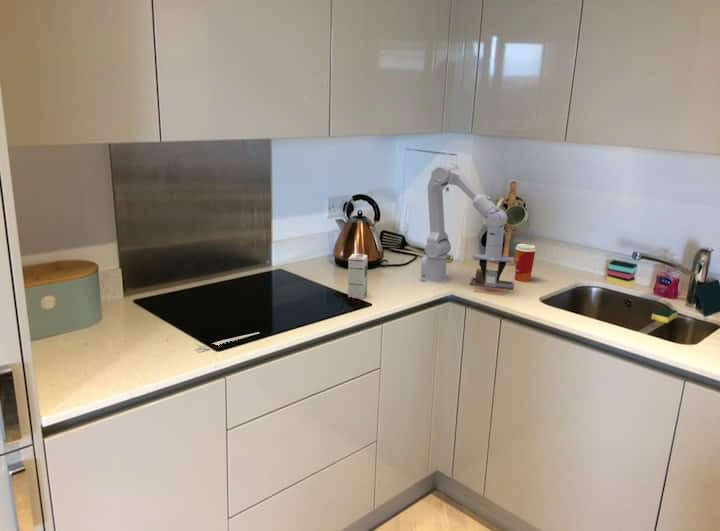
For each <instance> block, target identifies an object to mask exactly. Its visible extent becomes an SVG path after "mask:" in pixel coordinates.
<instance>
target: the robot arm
mask: <svg viewBox="0 0 720 531" xmlns="http://www.w3.org/2000/svg"><path fill="white" fill-rule="evenodd" d="M430 173H431V176H430V179H429V181H428V184H427V200H428V215H429V218H428V219H429V220H428V221H429V235H428V236H427V238H426V245H425V248H424V251H425V254H426V255H423V256H422V258H421V265H420V267H421V268H420V279H419V280H420V281H421V282H434V283H441V284H444V283H446V281H447V279H448V276H447V264H448V263H447V262H448V254H449V252H450V251H451V249H452V245H451V242H450V240H449V235H448V234H447V233H446V231H445V229H446V228H445V212H444V197H443V196H444V195H443V190H444V189H446V187H447V186H449V185H452V186H457V187H458V188H459V189H460V190H462V192H463V193H464V194H465V195H466V196H467V197H468V198H470V199H471V200H472V206H473V207H474V208H475V209H476V211H477V212H478V213H479V214H480V215H481V217H483V218H484V220H485V221H484V222H485V224H486V226H487V232H486V243H485V252H484V253H473V254H472V258H471V260H472V261H479V263H478V264H479V267H480V269H481V270H482V273H483V281H485V276H486V270H487V266H488V262H494V263H498V264H497V271H498V275H497V282H499V280H500V278H501V274H502V273H503V270H504V269H505V268H506V265H507V264H511V265H514V262H515V257H510V256H505V255H502V254H503V253H502V252H503V244H504V233H505V224H507V222H508V215H507V213H506V211H505V210H503V209H500V207H499V206H496V205H495V203H493V201H492V200H491V197H490V195H487V194H482V193H480V192H479V191H478V190H477V189H476V187H475V186H474V184H472V182H471V181H470V180H469V179H468V178H467V176H466V175H465V173H464V171H463V169H461V168H459V166H458V165H457V164H454V163H450V164H443V165H438V166H436V167H434V169H433V170H432V171H431V172H430Z"/></svg>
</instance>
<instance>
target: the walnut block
mask: <svg viewBox="0 0 720 531" xmlns="http://www.w3.org/2000/svg"><path fill="white" fill-rule="evenodd" d="M474 278H475V283H479V284H485V281H483V273H482V270H481V268H476V270H475V277H474Z"/></svg>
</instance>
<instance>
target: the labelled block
mask: <svg viewBox="0 0 720 531" xmlns="http://www.w3.org/2000/svg"><path fill="white" fill-rule="evenodd" d="M497 275H498V270H493V269H486V276H485V286H491V287H496V285H497Z"/></svg>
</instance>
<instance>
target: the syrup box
mask: <svg viewBox="0 0 720 531" xmlns="http://www.w3.org/2000/svg"><path fill="white" fill-rule="evenodd" d="M368 259H369V258H368V254H366V253H365V254H364V253H351V254H350V256H349V257H348V259H347V260H348V261H347V262H348V265H347V266H348V267H347V269H348V271H347V272H348V276H347V279H348V280H347V284H348V285H347V286H348V287H347V297H348V298H350V297H352V298H351V299H359V298H360V299H363V300H364V299H365V297H367V295H368V266H369V265H368Z"/></svg>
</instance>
